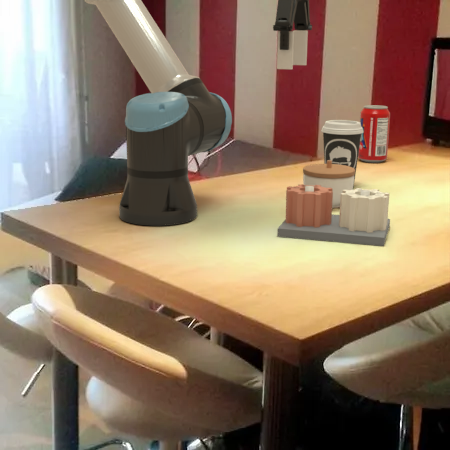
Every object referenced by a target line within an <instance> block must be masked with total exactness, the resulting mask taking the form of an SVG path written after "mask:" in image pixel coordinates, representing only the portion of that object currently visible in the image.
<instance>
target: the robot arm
mask: <svg viewBox="0 0 450 450" xmlns="http://www.w3.org/2000/svg"><path fill="white" fill-rule="evenodd" d="M83 1H84V2H85V3H86V4H89V5H95V6H96V8H97V10H98V11H99V12H100V14H101V16H102V18H103V19H104V20H105V22H106V23H107V25H108V27H109V28H110V30H111V32H112V33H113V35H114V36H115V38H116V40H117V41H118V43H119V44H120V45H121V48H122V49H123V51H124V52H125V54H126V56H128V58H129V60H130V61H131V63H132V65H133V67H134V68H135V69H136V72H138V75H139V76H140V77H141V79H142V80H143V82H144V84H145V85H146V87H147V89H148V90H149V92H148V93H143V94H140V95H136V96H135V97H133V98H131V99H130V100H129V101H128V102H127V103H126V106H125V107H126V108H125V118H124V125H125V136H126V137H125V138H126V140H125V141H126V142H125V143H126V164H127V165H126V167H127V169H126V171H127V176H126V182H125V185H124V189H123V193H122V195H121V200H120V202H119V206H118V212H119V219H120V220H122V221H123V222H125V223H129V224H132V225H138V226H139V225H141V226H149V227H150V226H152V227H153V226H154V227H155V226H159V227H160V226H173V225H181V224H184V223H188V222H191V221H193V220H195V219H196V218H197V217H198V203H197V201H196V198H195V195H194V191H193V189H192V186H191V183H190V179H189V157H190V156H193V155H197V154H200V153H207V152H210V151H213V149H215V148H218V147H219V146H221V145H222V144H223V143H224V142H225V141H226V140H227V139H228V137H229V135H230V132H231V130H232V124H233V116H232V115H233V114H232V111H231V108H230V106H229V104H228V103H227V101H226V100H225V99H224V98H223V97H222V96H220V95H219V94H217V93H214V92H210V91H209V89H207V86H206V85H205V83H204V82H203V80H202V79H201V78H200V77H199V76H196V75H191V74H189V72H188V71H187V70H186V67H185V66H184V65H183V63H182V61H181V60H180V59H179V57H178V55H177V54H176V52H175V51H174V49H173V48H172V46H171V44H170V43H169V41H168V40H167V38H166V36H165V35H164V33H163V32H162V30H161V29H160V27H159V26H158V24H157V23H156V21H155V20H154V18H153V17H152V15H151V14H150V12H149V10H148V8H147V7H146V6H145V4H144V3H143V1H142V0H83ZM275 14H276V15H275V22H274V24H273V25H272V29H273V31H274V32H275V31H276V32H277V48H276V49H277V50H276V53H277V55H276V70H294V69H293V67H294V66H307V62H308V61H307V59H308V38H309V37H308V35H309V31H312V30H313V25H312V24H311V19H310V18H311V15H310V0H277V8H276V13H275ZM293 28H294V29H293Z"/></svg>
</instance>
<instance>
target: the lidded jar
mask: <svg viewBox="0 0 450 450" xmlns="http://www.w3.org/2000/svg"><path fill="white" fill-rule="evenodd" d="M302 174H303V177H302V179H303V181H302V182H303V184H304V185H313V186H315V185H321V187H325V188H332V189H333V190H332V192H333V199H332V209H337V208H340V197H341V193H342V191H343V190H354V188H353V185H354V186H355V181H354V175H355V176H356V174H355V169H354V168H352V167H350V166H346V165H339V164H332V161H331V160H327V164H324V163H313V164H308V165H305V166H304V167H303V168H302Z"/></svg>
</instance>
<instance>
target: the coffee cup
mask: <svg viewBox="0 0 450 450" xmlns="http://www.w3.org/2000/svg"><path fill="white" fill-rule="evenodd" d="M320 132H322V134H323V135H322V137H323V139H322V140H323V159H324V160H323V161H324V162H323V164H327V160H331V161H332V164H339V165H346V166H350V167H352V168H354V169H355V175H354V182H355V179H356V174H357V168H358V167H357V165H358V159H359V158H358V153H359V146H360V140H361V133H363V132H364V131H363V128H362V127H361V123H360V121H357V120H349V119H331V120H326V121H325V122H324V124H323V125H322V128H321V130H320ZM354 187H355V184H354V185H353V189H354Z"/></svg>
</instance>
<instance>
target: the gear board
mask: <svg viewBox="0 0 450 450" xmlns="http://www.w3.org/2000/svg"><path fill="white" fill-rule="evenodd" d="M305 191H308V192H314V186H305ZM389 204H390V193H389V192H382V191H380V189H375V188H373V189H366V188H361V187H359V188H358V187H355V189H353V190H343V191H342V193H341V197H340V207H339V214H333V213H332V219H331V224H330V225H326V224H325V225H320V227H313V226H302V227H298V226H296V224H293V223H286V222H285V220H286V218H285V219H284V220H283V222H282V223H281V224H280V225H279V226H278V228H277V234H276V235H277V237H279V238H289V239H298V240H301V239H302V240H309V241H310V240H311V241H312V240H313V241H321V242H333V243H334V242H335V243H343V244H357V245H364V246H365V245H367V246H377V247H385V243H386V240H387V236H388V233H389V231H390V224H391V219H390V218H388V217H389Z"/></svg>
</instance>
